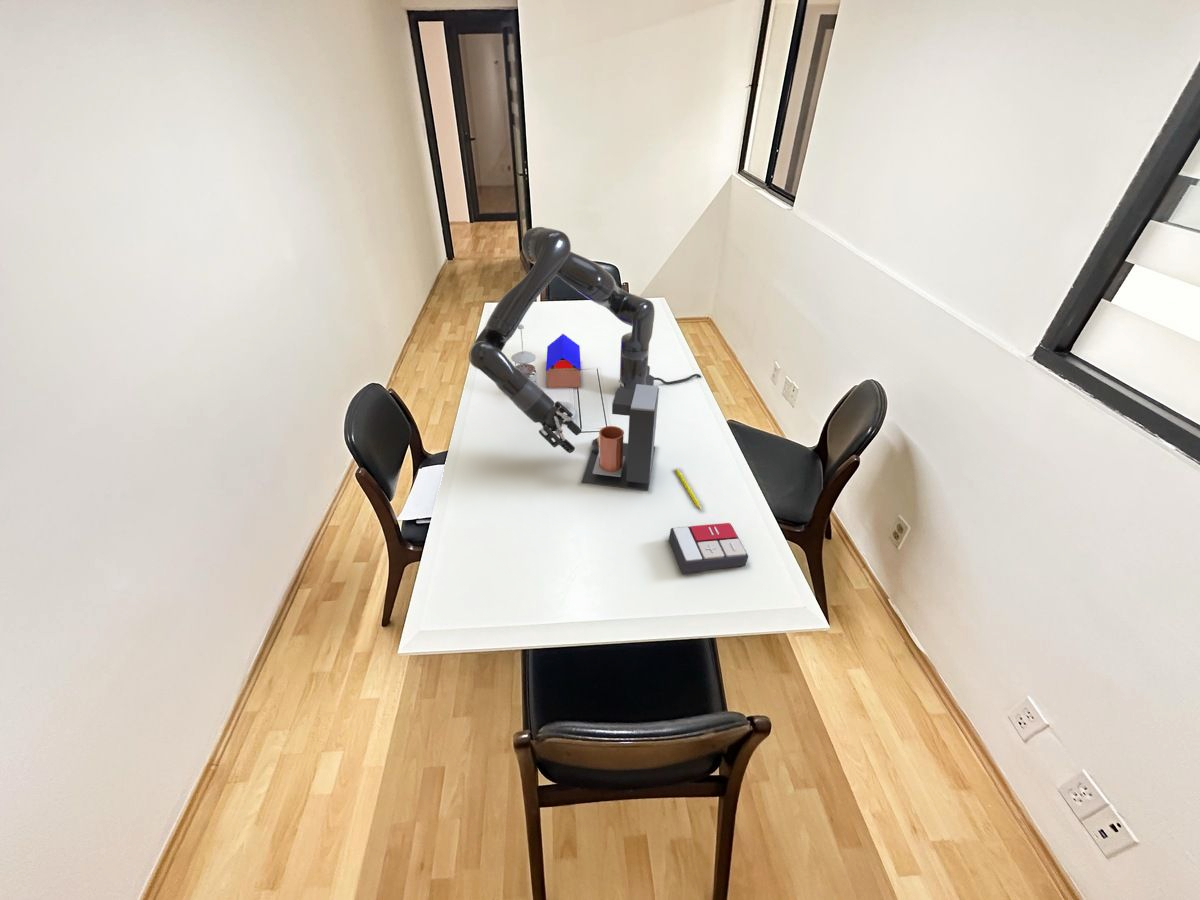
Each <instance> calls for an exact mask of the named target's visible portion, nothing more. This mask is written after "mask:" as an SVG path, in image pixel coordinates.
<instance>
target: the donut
mask: <svg viewBox="0 0 1200 900" xmlns="http://www.w3.org/2000/svg"><path fill="white" fill-rule="evenodd" d="M559 402H560V403H561V404H562V405H563V406H564V407H565V408H566V409H568V410H569V411H570V412H571V413H572V414H573V416H572V419H573V420H574V419H575V418H576V416H577V409H576V406H574V404H572V403H569V402H567V401H559ZM563 414H566V413H565V412H564V413H563ZM566 415H567V414H566Z"/></svg>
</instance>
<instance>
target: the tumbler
mask: <svg viewBox="0 0 1200 900" xmlns="http://www.w3.org/2000/svg"><path fill="white" fill-rule="evenodd" d="M598 437H599V466H600V468H601V469H602V470H604V471H608V472H614V471H618V470H619V469H621V467H622V464H623V444H624V443H625V442H624V439H625V432H624V430H623V429H622V428H621V427H619V426H616V425H607V426H604V427H602V428H600V429H599V431H598Z"/></svg>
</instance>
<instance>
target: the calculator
mask: <svg viewBox="0 0 1200 900" xmlns="http://www.w3.org/2000/svg"><path fill="white" fill-rule="evenodd" d="M668 542H669V544H670V546H671V549H672V552H673V554H674V556H675V560H676V562H677V564H678V567H679V569H680V572H681V573H682V574H684V575H685V574H697V573H701V572H702V571H708V570H716V569H717V570H718V569H728V568H737V567H744V566H746V565H747V563H748V559H749V554H748V552H747V550H746V549H745V547H744V545H743V544H742V541H741V540H740V538H739V536H738V534H737V532H736V531H735V528H734V527H733V525H732V524H731V523H730V522H723V523H712V524H711V523H709V524H700V525H699V524H698V525H691V526H681V527H680V526H678V527H671V528H670V530H669V535H668Z"/></svg>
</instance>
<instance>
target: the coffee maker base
mask: <svg viewBox="0 0 1200 900" xmlns="http://www.w3.org/2000/svg"><path fill="white" fill-rule="evenodd" d="M597 438H598V437H596V438H594V439H593V440H592V443H591V452H590V454H589V458H588V461H587V463H586V466H585V469H584V472H583V476H582V478H581V484H587V485H594V486H603V487H604V486H605V487H612V488H618V489H628V490H636V491H645V492H649V489H650V483H651V479H650V480H649V484H646V483H637V482H629V481H626V475H627V454H628V442H624V444H623V456H625V460H624V464H623V469H622V473H621V477H616V476H608V475H599V474H592V473H593V470H594V466H595V463H596V460H597V457H598V453H599V446H598V445H597ZM655 451H656V446H655V445H654V454H653V459H654V458H655ZM653 463H654V460H653V461H652V466H653ZM652 470H653V467H652V468H651V472H652ZM651 476H652V473H651V474H650V478H652V477H651Z"/></svg>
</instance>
